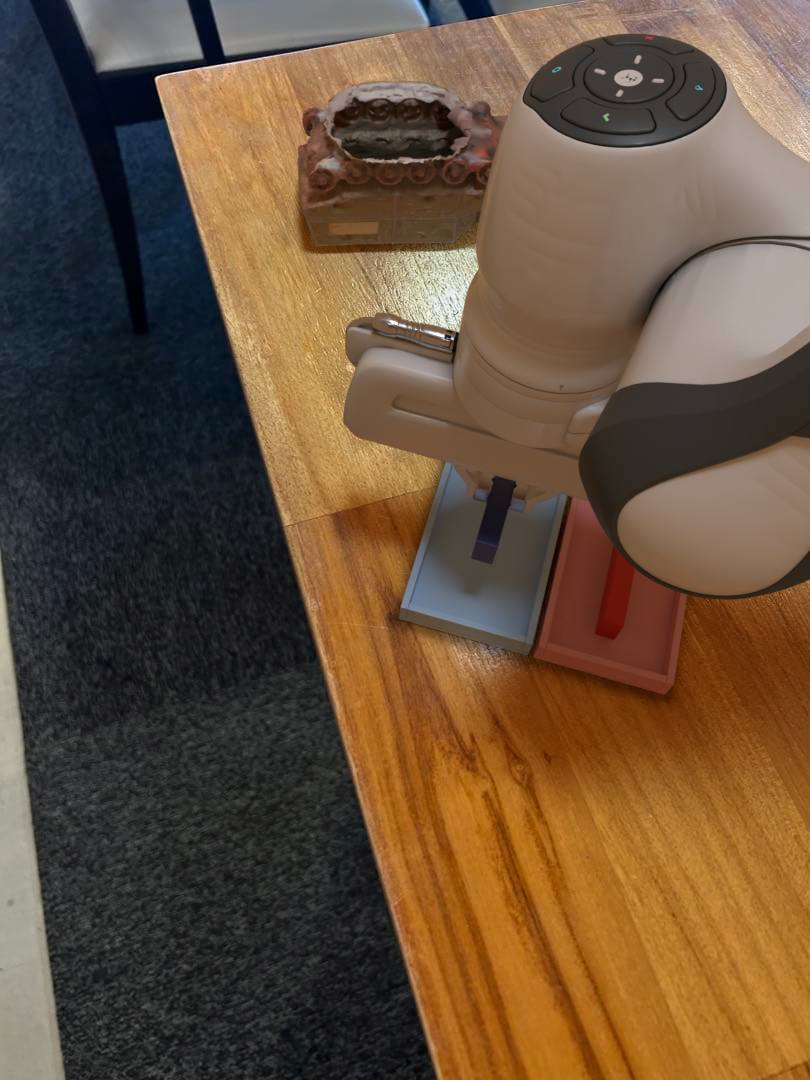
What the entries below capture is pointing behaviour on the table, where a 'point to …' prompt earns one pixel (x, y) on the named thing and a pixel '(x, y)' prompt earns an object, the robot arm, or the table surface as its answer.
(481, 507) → the blue tray
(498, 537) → the blue spoon
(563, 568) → the pink tray
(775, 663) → the table surface
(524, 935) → the table surface
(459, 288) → the table surface
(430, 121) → the decorative box
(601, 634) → the red spoon
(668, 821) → the table surface
